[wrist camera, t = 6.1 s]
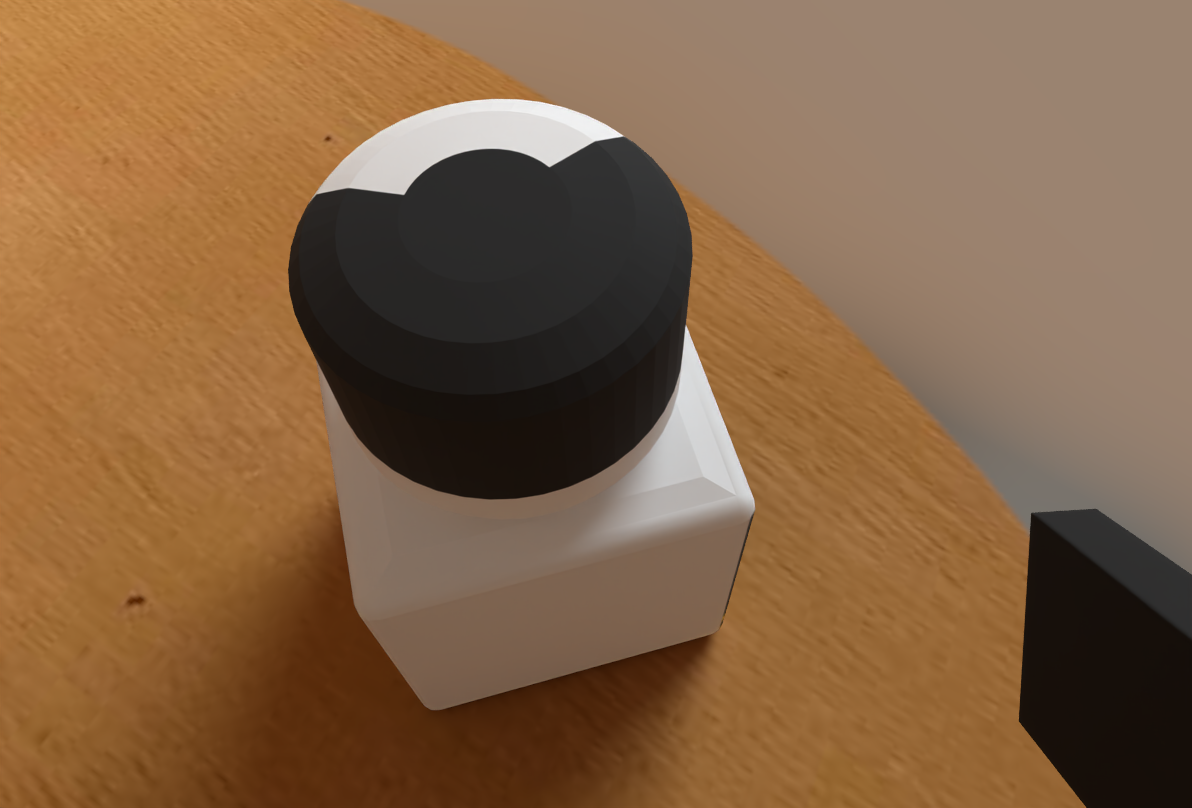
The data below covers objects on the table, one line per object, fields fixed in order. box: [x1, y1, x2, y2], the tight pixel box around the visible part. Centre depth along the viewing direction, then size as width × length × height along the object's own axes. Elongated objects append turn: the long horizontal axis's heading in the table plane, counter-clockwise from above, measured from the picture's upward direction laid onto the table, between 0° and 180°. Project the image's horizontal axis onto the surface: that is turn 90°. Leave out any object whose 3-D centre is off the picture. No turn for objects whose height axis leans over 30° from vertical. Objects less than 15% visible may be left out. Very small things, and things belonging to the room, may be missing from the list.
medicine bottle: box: [288, 99, 755, 710], centre depth 19 cm, size 7×7×12 cm
